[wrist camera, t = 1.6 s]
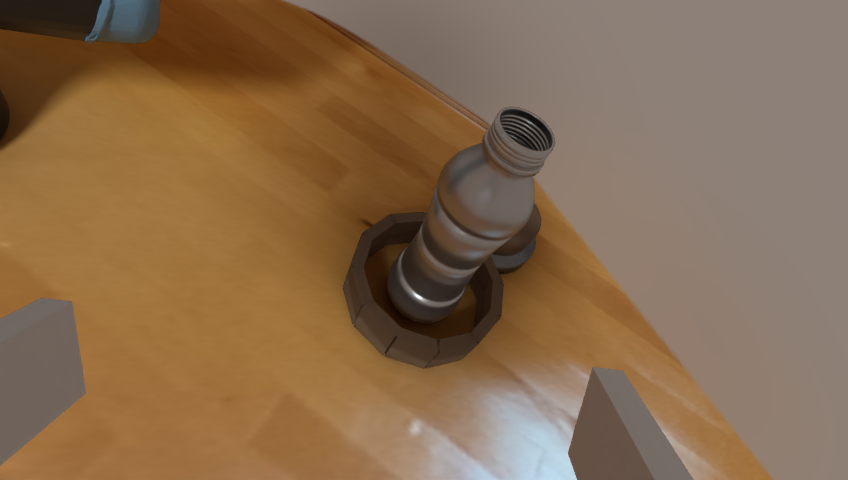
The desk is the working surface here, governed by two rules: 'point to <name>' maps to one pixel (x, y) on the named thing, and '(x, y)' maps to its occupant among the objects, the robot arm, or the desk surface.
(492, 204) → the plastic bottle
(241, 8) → the desk surface
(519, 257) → the base
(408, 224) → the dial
